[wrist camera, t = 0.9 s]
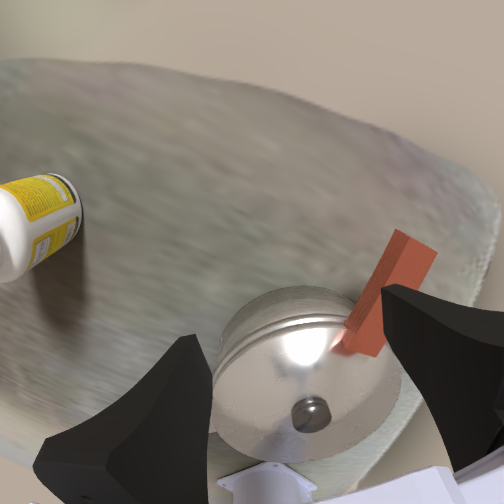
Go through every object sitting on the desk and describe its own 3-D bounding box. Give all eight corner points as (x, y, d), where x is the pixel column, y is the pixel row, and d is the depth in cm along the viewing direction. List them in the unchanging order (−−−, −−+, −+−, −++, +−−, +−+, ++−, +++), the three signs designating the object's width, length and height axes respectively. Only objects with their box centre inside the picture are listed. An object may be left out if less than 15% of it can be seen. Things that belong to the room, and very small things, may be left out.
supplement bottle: (22, 176, 19) (-73, 202, 10) (81, 169, 19) (-15, 193, 10) (30, 246, 21) (-53, 300, 11) (87, 246, 21) (7, 310, 12)
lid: (335, 463, 22) (340, 479, 20) (187, 434, 20) (184, 453, 18) (474, 273, 17) (491, 284, 15) (306, 185, 15) (315, 189, 13)
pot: (229, 431, 27) (228, 473, 22) (159, 327, 23) (143, 369, 18) (428, 357, 25) (454, 391, 20) (409, 230, 21) (447, 252, 17)
